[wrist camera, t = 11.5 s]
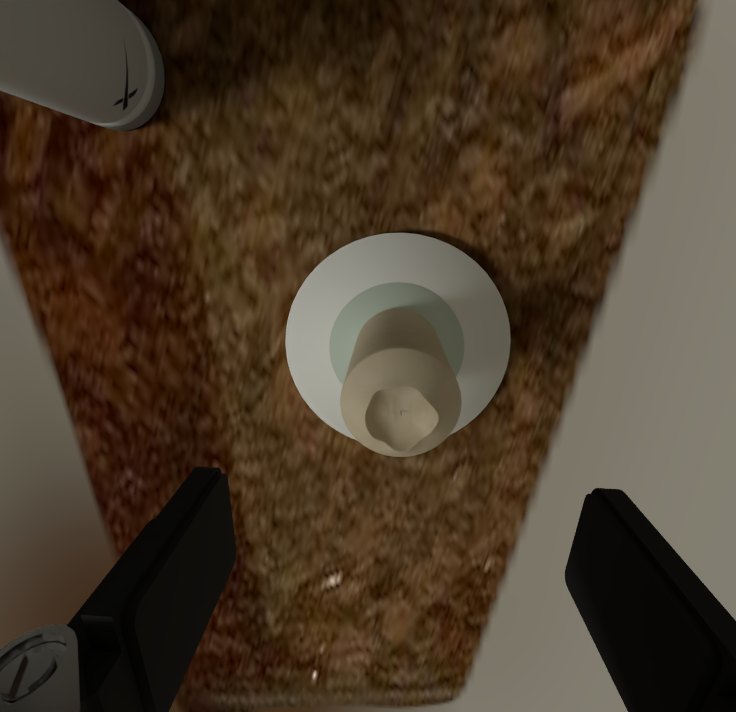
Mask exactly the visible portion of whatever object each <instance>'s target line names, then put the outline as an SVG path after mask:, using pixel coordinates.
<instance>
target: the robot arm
mask: <svg viewBox="0 0 736 712" xmlns="http://www.w3.org/2000/svg"><path fill="white" fill-rule="evenodd" d="M235 559H236V545H235V536H234V528H233V520H232V511H231V503H230V495H229V486H228V478H227V475H226V474H222V473H221V470H220V469H219V468H213V467H196V468H195V469H194V470H193V471H192V472H191V473H190V475H189V476H188V477H187V479H186V480H185V481H184V482H183V484H182V485H181V486H180V488H179V489H178V490H177V491H176V493H175V494H174V495H173V497H172V498H171V499H170V500H169V502H168V503H167V504H166V506H165V507H164V508H163V509H162V511H161V512H160V513H159V515H158V516H157V517H156V518H155V519H153V520H151V521H150V522H149V523H148V524H147V525H146V526H145V527H144V529H143V530H142V531H141V532H140V534H139V535H138V536H137V537H136V539H135V540H134V541H133V543H132V544H131V545H130V546H129V548H128V549H127V550H126V551H125V553H124V554H123V555H122V556H121V558H120V559H119V560H118V562H117V563H116V564H115V565H114V567H113V568H112V569H111V570H110V572H109V573H108V574H107V575H106V577H105V578H104V579H103V581H102V582H101V583H100V584H99V586H98V587H97V588H96V589H95V591H94V592H93V593H92V594H91V596H90V597H89V598H88V599H87V601H86V602H85V603H84V605H83V606H82V607H81V608H80V610H79V611H78V612H77V613H76V615H75V616H74V617H73V618H72V620H71V621H70V622H69V624H68V625H67V626H64V625H58V624H55V625H49V626H43V627H40V628H37V629H34V630H32V631H29V632H27V633H25V634H23V635H21V636H20V637H18V638H16V639H14V640H12V641H11V642H10V643H8V644H7V645H5V646H4V647H3V648H2V649H0V712H169V709H170V707H171V705H172V703H173V701H174V698H175V696H176V694H177V692H178V689H179V687H180V685H181V683H182V680H183V678H184V676H185V674H186V671H187V669H188V667H189V665H190V663H191V660H192V658H193V656H194V654H195V651H196V649H197V647H198V645H199V642H200V640H201V638H202V636H203V633H204V631H205V629H206V627H207V624H208V622H209V620H210V618H211V615H212V613H213V611H214V609H215V606H216V604H217V602H218V600H219V597H220V595H221V593H222V591H223V588H224V586H225V584H226V582H227V579H228V577H229V575H230V573H231V570H232V568H233V566H234V563H235ZM565 581H566V585H567V587H568V590H569V592H570V594H571V596H572V598H573V600H574V602H575V604H576V606H577V608H578V610H579V612H580V614H581V616H582V618H583V620H584V622H585V624H586V626H587V628H588V631H589V632H590V635H591V637H592V639H593V641H594V643H595V644H596V647H597V649H598V651H599V653H600V655H601V657H602V659H603V661H604V663H605V665H606V667H607V669H608V672H609V673H610V675H611V677H612V680H613V682H614V684H615V686H616V688H617V690H618V692H619V694H620V696H621V698H622V700H623V702H624V704H625V706H626V708H627V710H628V712H736V621H735V620H734V618H733V617H732V616H731V615H730V614H729V613H728V611H727V610H726V609H725V608H724V607H723V606H722V605H721V603H720V602H719V601H718V600H717V599H716V598H715V597H714V595H713V594H712V593H711V592H710V591H709V590H708V588H707V587H706V586H705V585H704V584H703V583H702V582H701V580H700V579H699V578H698V577H697V576H696V575H695V573H694V572H693V571H692V570H691V569H690V568H689V567H688V565H687V564H686V563H685V562H684V561H683V560H682V559H681V557H680V556H679V555H678V554H677V553H676V552H675V550H674V549H673V548H672V547H671V546H670V545H669V543H668V542H667V541H666V540H665V539H664V538H663V536H661V534H660V533H659V532H658V531H657V530H656V528H655V527H654V526H653V525H652V524H651V523H650V521H649V520H648V519H647V518H646V517H645V516H644V515H643V513H642V512H641V511H640V510H639V509H638V508H637V507H636V505H635V504H634V503H633V502H632V501H631V500H630V498H629V497H628V496H627V495H626V494H625V493H624V492H623V491H622V490H619V489H603V488H596V489H594V490H593V491H592V493H591V494H587V495H586V497H585V500H584V503H583V507H582V511H581V515H580V518H579V522H578V526H577V529H576V533H575V536H574V540H573V544H572V548H571V552H570V555H569V558H568V562H567V566H566V570H565Z"/></svg>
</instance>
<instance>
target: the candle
mask: <svg viewBox="0 0 736 712" xmlns="http://www.w3.org/2000/svg"><path fill="white" fill-rule="evenodd" d="M461 406H462V398H461V391H460V388H459V385H458V382H457V380H456V377H455V375H454V373H453V370H452V368H451V366H450V363H449V361H448V359H447V356H446V354H445V352H444V349H443V347H442V345H441V342H440V340H439V338H438V336H437V333H436V331H435V330H434V328H433V326H432V325H431V324H430V323H429V321H428V320H426V319H425V318H424V317H423V316H421V315H420V314H418V313H416V312H414V311H411V310H407V309H399V308H396V309H389V310H385V311H382V312H380V313H378V314H376V315H374V316H373V317H371V318H370V319H369V320H368V321H367V322H366V323H365V324H364V326H363V327H362V329H361V330H360V332H359V334H358V337H357V340H356V343H355V347H354V350H353V353H352V357H351V360H350V363H349V367H348V370H347V373H346V377H345V380H344V384H343V387H342V391H341V397H340V407H341V413H342V417H343V420H344V422H345V425H346V426H347V428H348V430H349V431H350V432H351V434H352V435H353V436H354V437H355V438H356V439H357V440H358V441H359V442H360V443H361V444H363V445H364V446H365V447H367V448H369V449H371V450H373V451H375V452H377V453H380V454H384V455H388V456H395V457H407V456H414V455H418V454H422V453H424V452H427V451H429V450H431V449H433V448H435V447H436V446H438V445H439V444H441V443H442V442H443V441H444V440H445V439H446V438H447V437H448V436H449V435H450V434H451V432H452V431H453V429H454V428H455V426H456V424H457V422H458V419H459V416H460V413H461Z"/></svg>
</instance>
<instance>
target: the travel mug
mask: <svg viewBox="0 0 736 712" xmlns="http://www.w3.org/2000/svg"><path fill="white" fill-rule="evenodd" d="M164 83H165V77H164V66H163V61H162V57H161V54H160V51H159V48H158V46H157V43H156V41H155V40H154V38H153V36H152V34H151V33H150V31H149V30H148V28H147V27H146V26H145V25H144V24H143V22H142V21H141V20H140V19H139V18H138V17H136V16H135V15H134V14H133V13H132V12H131V11H130V10H128V9H127V8H126V7H125V6H124V5H122V4H121V3H120V2H119V1H118V0H0V91H3V92H6V93H9V94H12V95H15V96H17V97H20V98H23V99H26V100H29V101H32V102H34V103H37V104H40V105H43V106H46V107H49V108H51V109H54V110H57V111H60V112H63V113H65V114H68V115H71V116H74V117H77V118H80V119H83V120H86V121H88V122H91V123H94V124H97V125H99V126H102V127H105V128H108V129H111V130H119V131H124V130H132V129H135V128H137V127H140V126H142V125H143V124H144V123H146V122H147V121H149V119H150V118H151V117H152V116H153V115H154V114H155V112H156V110H157V108H158V107H159V105H160V102H161V99H162V96H163V92H164Z"/></svg>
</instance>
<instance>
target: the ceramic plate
mask: <svg viewBox="0 0 736 712" xmlns="http://www.w3.org/2000/svg"><path fill="white" fill-rule="evenodd" d="M396 308H399V309H407V310H411V311H414V312H416V313H418V314H420V315H421V316H423V317H424V318H425V319H426V320H428V321H429V323H430V324H431V325H432V326H433V328H434V330H435V331H436V333H437V336H438V338H439V340H440V342H441V345H442V347H443V349H444V352H445V354H446V356H447V359H448V361H449V363H450V366H451V368H452V370H453V373H454V375H455V377H456V380H457V382H458V385H459V388H460V391H461V398H462V406H461V413H460V416H459V419H458V422H457V424H456V426H455V428H454V429H453V431H452V432H451V434H453V433H455V432H456V431H458V430H459V429H461V428H462V427H464V426H466V425H467V424H468V423H469V422H471V421H472V420H473V419H474V418H475V417H476V416H478V415H479V413H480V412H481V411H482V410H483V409H484V408H485V407H486V406H487V405H488V403H489V402H490V400H491V399H492V398H493V396H494V395H495V393H496V391H497V389H498V387H499V386H500V384H501V382H502V379H503V376H504V374H505V371H506V368H507V364H508V359H509V354H510V342H511V339H510V325H509V320H508V315H507V311H506V308H505V305H504V302H503V299H502V297H501V295H500V293H499V291H498V290H497V288H496V286H495V284H494V283H493V281H492V280H491V279H490V277H489V276H488V274H487V273H486V272H485V271H484V270H483V269H482V268H481V267H480V266H479V265H478V264H477V263H476V262H475V261H474V260H473V259H472V258H470V257H469V256H468V255H466V254H465V253H464V252H462V251H461V250H459V249H457V248H455V247H454V246H452V245H450V244H448V243H445V242H443V241H440V240H438V239H435V238H432V237H428V236H423V235H419V234H412V233H384V234H379V235H373V236H369V237H366V238H363V239H360V240H357V241H354V242H352V243H350V244H348V245H346V246H344V247H342V248H340V249H339V250H337V251H336V252H334V253H333V254H331V255H330V256H328V257H327V258H326V259H325V260H323V261H322V262H321V263H320V264H319V265H318V266H317V267H316V268H315V269H314V270H313V271H312V272H311V274H310V275H309V276H308V277H307V278H306V280H305V281H304V283H303V284H302V286H301V288H300V289H299V291H298V293H297V295H296V297H295V299H294V301H293V304H292V307H291V310H290V313H289V317H288V322H287V328H286V353H287V361H288V365H289V369H290V372H291V375H292V378H293V380H294V383H295V385H296V387H297V389H298V390H299V392H300V394H301V396H302V397H303V399H304V400H305V401H306V403H307V404H308V406H309V407H310V408H311V409H312V410H313V411H314V412H315V413H316V414H317V416H318V417H320V418H321V419H322V420H323V421H324V422H326V423H327V424H328V425H329V426H331V427H332V428H334V429H335V430H337V431H338V432H340V433H342V434H344V435H346V436H348V437H350V438H352V439H355V440H357V439H356V438H355V437H354V436H353V435H352V434H351V432H350V431H349V430H348V428H347V426H346V425H345V422H344V420H343V417H342V413H341V407H340V397H341V391H342V387H343V384H344V380H345V377H346V373H347V370H348V367H349V363H350V360H351V357H352V353H353V350H354V347H355V343H356V340H357V337H358V334H359V332H360V330H361V329H362V327H363V326H364V324H365V323H366V322H367V321H368V320H369V319H370V318H371V317H373V316H374V315H376V314H378V313H380V312H382V311H385V310H389V309H396ZM451 434H450V435H451Z"/></svg>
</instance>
